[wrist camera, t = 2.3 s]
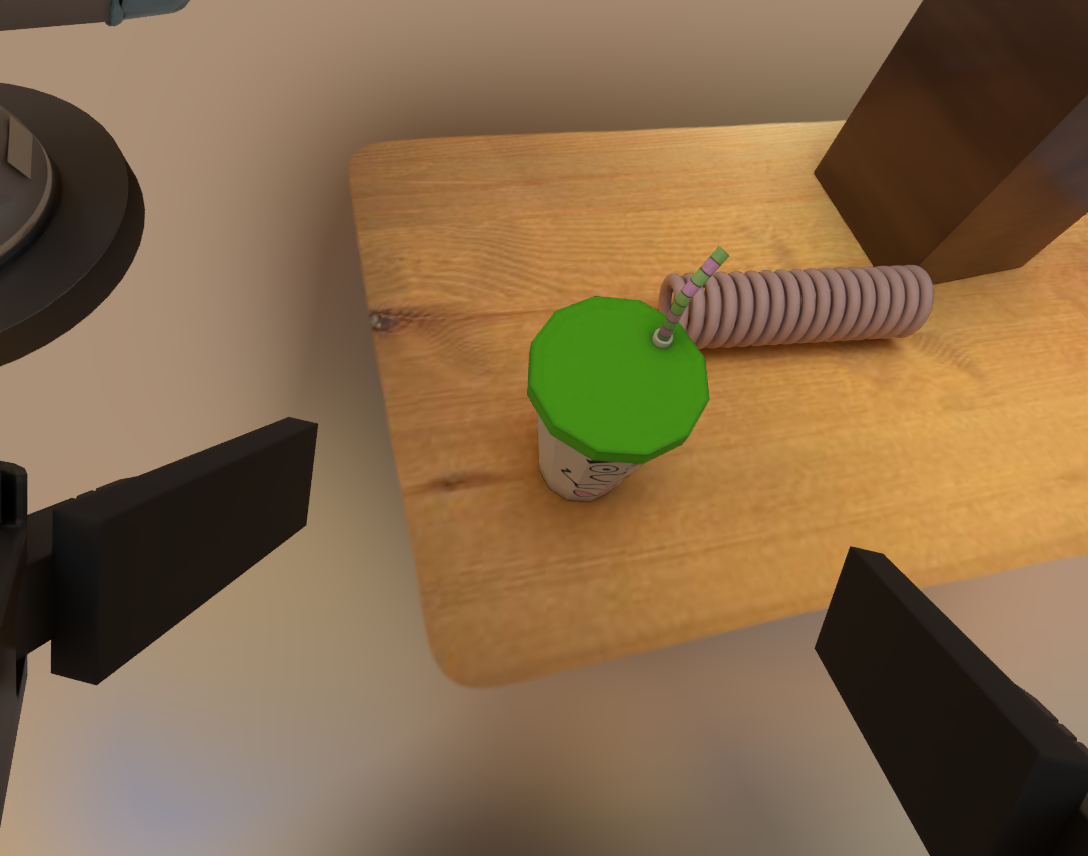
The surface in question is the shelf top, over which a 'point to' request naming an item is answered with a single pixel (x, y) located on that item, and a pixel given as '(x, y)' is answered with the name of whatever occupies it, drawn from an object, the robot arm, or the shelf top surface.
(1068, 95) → the stand
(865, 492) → the shelf top surface
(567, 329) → the cup
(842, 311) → the coil
